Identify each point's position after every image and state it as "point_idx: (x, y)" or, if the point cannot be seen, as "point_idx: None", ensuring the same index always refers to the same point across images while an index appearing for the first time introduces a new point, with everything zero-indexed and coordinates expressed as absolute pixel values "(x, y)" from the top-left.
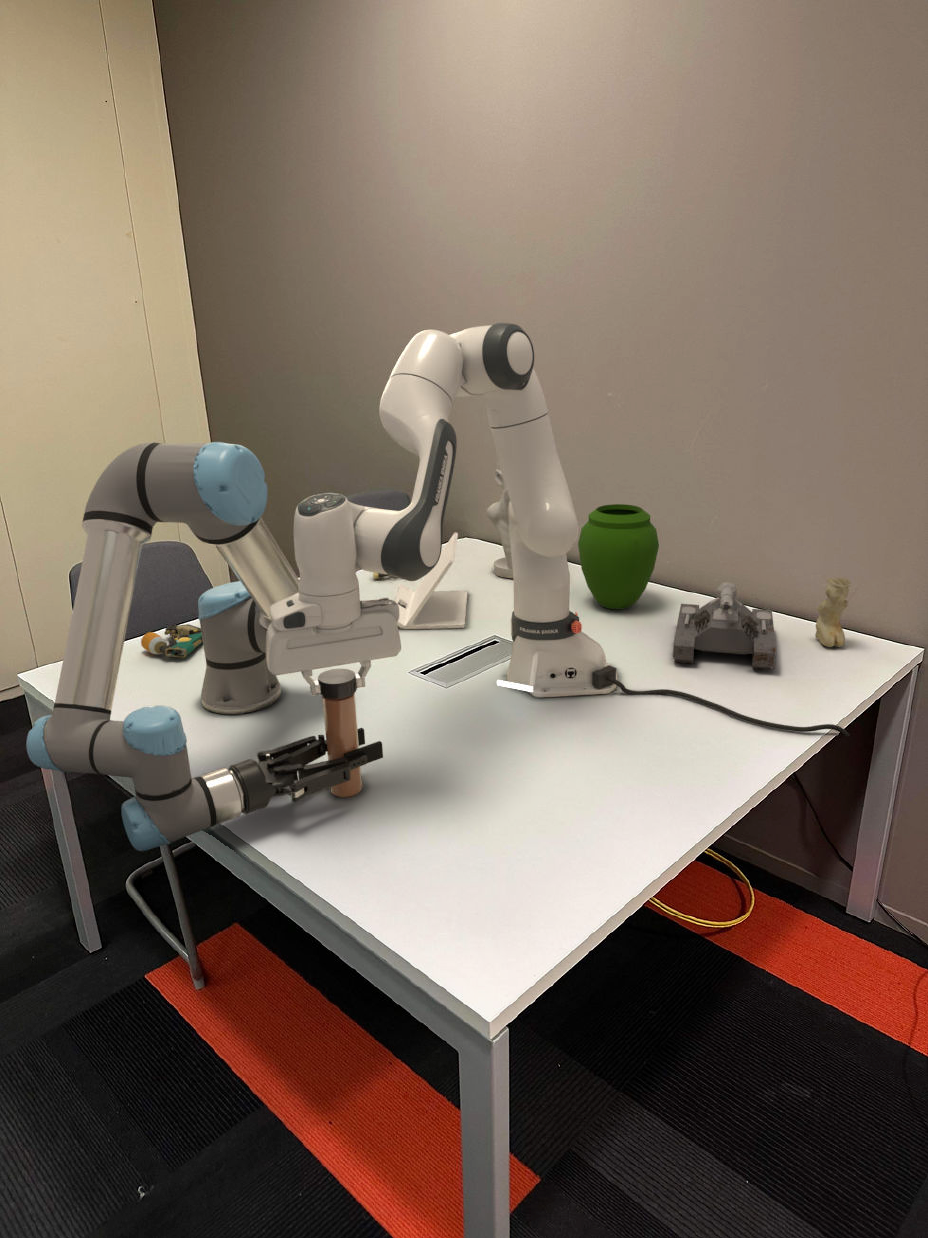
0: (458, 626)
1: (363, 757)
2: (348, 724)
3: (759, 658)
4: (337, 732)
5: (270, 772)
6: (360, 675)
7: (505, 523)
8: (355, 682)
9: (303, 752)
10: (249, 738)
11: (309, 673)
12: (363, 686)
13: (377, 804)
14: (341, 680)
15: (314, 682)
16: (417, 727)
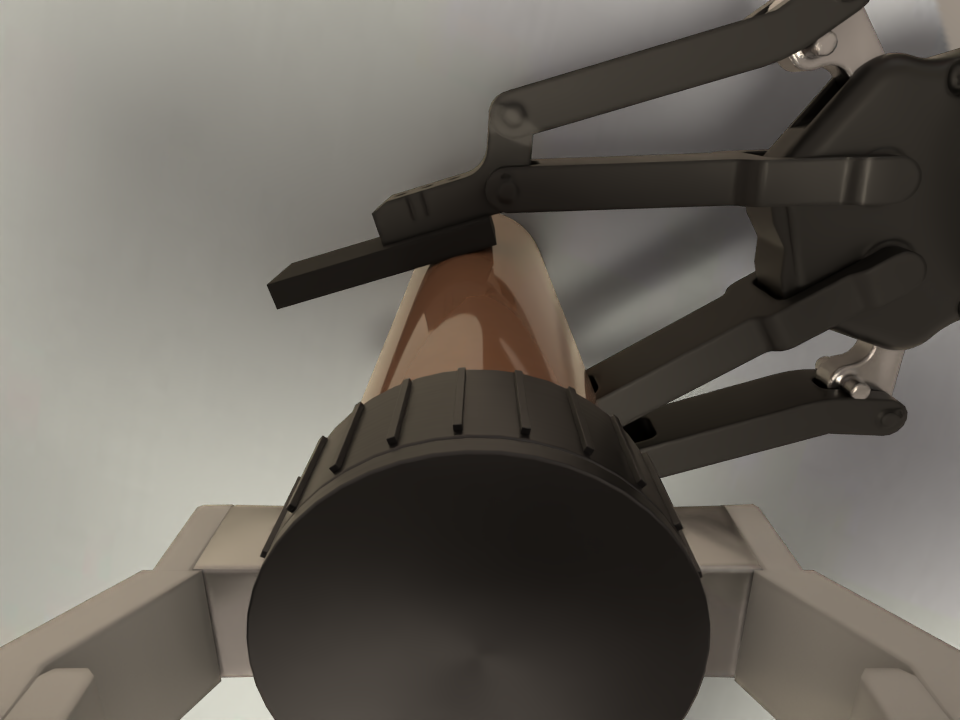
0: None
1: (394, 200)
2: (444, 304)
3: None
4: (525, 294)
5: (911, 208)
6: (193, 607)
7: None
8: (282, 522)
9: (689, 349)
10: (723, 710)
11: (925, 702)
12: (219, 505)
13: (383, 106)
14: (448, 530)
15: (744, 633)
16: None
